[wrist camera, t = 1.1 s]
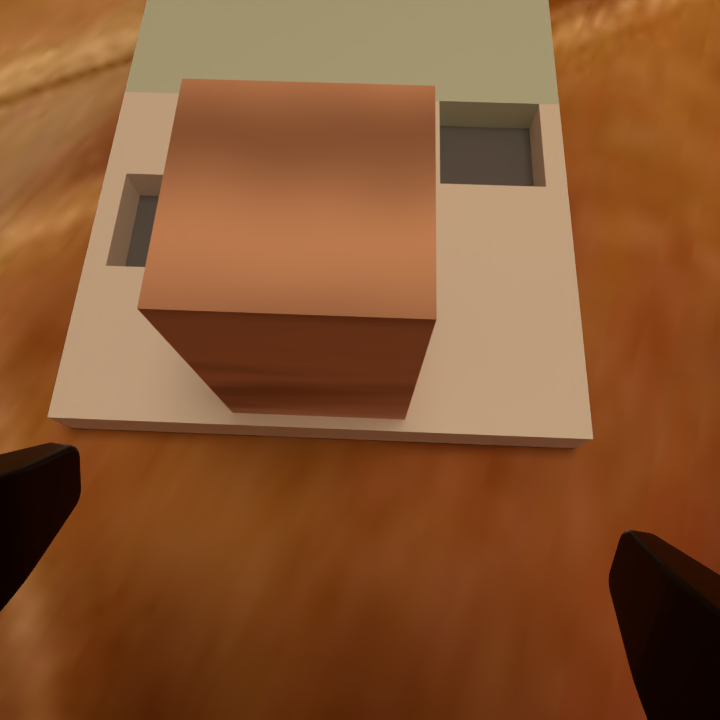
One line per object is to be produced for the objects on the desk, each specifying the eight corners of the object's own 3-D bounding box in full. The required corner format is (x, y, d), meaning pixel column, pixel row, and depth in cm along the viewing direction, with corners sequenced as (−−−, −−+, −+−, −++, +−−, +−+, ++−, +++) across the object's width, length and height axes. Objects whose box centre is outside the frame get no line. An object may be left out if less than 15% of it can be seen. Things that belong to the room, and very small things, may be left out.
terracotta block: (405, 419, 22) (436, 319, 13) (232, 412, 22) (137, 308, 13) (407, 266, 24) (435, 85, 15) (251, 260, 25) (181, 78, 15)
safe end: (546, 133, 29) (558, 104, 27) (140, 121, 30) (125, 91, 28) (536, 23, 32) (547, -10, 30) (163, 14, 32) (151, -20, 31)
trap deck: (574, 448, 24) (593, 439, 22) (72, 428, 24) (47, 417, 22) (546, 133, 29) (558, 104, 27) (140, 121, 30) (125, 91, 28)
